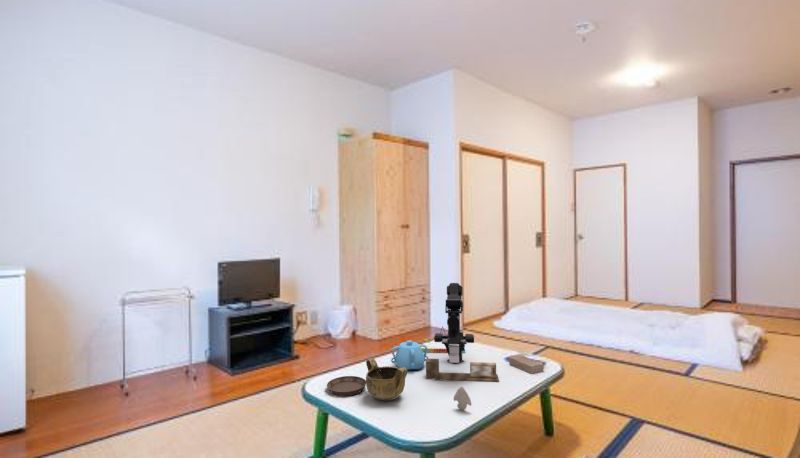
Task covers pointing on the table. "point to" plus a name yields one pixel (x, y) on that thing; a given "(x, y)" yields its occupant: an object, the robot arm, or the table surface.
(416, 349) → the decorative pot
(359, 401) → the table surface
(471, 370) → the wall mounted shelf tray
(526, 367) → the brick
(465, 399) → the arrowhead
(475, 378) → the wooden shelf
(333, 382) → the plant saucer
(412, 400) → the table surface
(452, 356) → the white chair-shaped block
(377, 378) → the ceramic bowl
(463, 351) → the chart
